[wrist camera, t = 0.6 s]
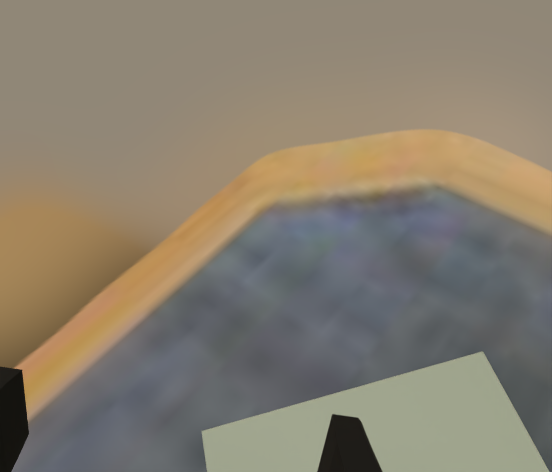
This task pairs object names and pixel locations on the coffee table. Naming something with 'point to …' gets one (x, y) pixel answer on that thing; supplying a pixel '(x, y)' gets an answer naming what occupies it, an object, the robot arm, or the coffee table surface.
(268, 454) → the sage board
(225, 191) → the coffee table surface
